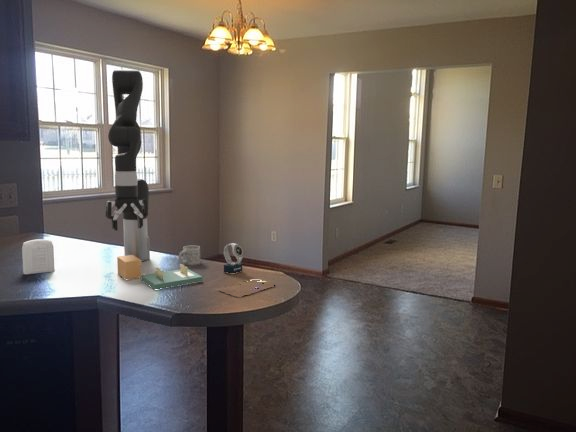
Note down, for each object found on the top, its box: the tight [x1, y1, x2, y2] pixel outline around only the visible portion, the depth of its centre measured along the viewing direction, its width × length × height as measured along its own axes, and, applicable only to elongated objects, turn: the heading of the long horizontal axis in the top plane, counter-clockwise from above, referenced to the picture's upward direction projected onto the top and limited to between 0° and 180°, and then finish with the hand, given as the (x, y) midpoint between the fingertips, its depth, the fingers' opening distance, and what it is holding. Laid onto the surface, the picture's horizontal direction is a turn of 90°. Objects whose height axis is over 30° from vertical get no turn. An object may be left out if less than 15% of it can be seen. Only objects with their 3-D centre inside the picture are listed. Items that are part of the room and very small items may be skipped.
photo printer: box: [21, 238, 55, 275], centre depth 175 cm, size 10×4×12 cm, turn 123°
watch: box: [223, 242, 245, 274], centre depth 180 cm, size 6×8×11 cm
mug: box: [178, 244, 201, 266], centre depth 191 cm, size 10×7×7 cm
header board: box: [141, 263, 203, 290], centre depth 167 cm, size 17×13×5 cm
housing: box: [116, 255, 143, 280], centre depth 173 cm, size 6×9×6 cm, turn 36°
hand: (127, 229), depth 171 cm, fingers open, 8 cm apart
